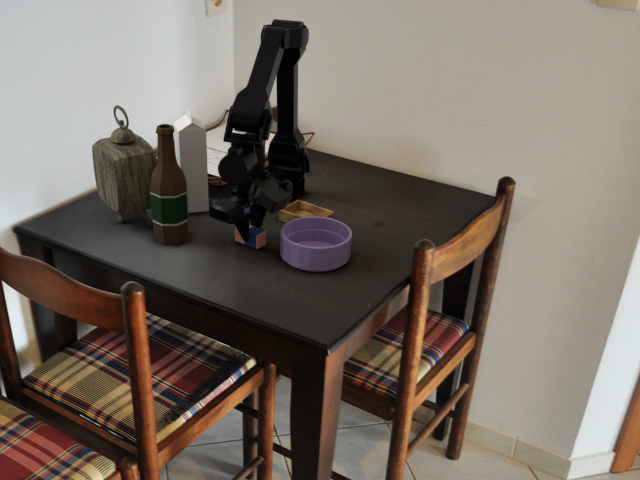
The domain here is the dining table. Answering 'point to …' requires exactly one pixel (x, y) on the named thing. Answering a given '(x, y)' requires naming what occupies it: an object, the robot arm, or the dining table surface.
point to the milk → (193, 160)
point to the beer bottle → (168, 192)
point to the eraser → (253, 237)
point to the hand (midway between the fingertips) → (250, 237)
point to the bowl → (315, 243)
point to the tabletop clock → (124, 170)
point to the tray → (303, 211)
